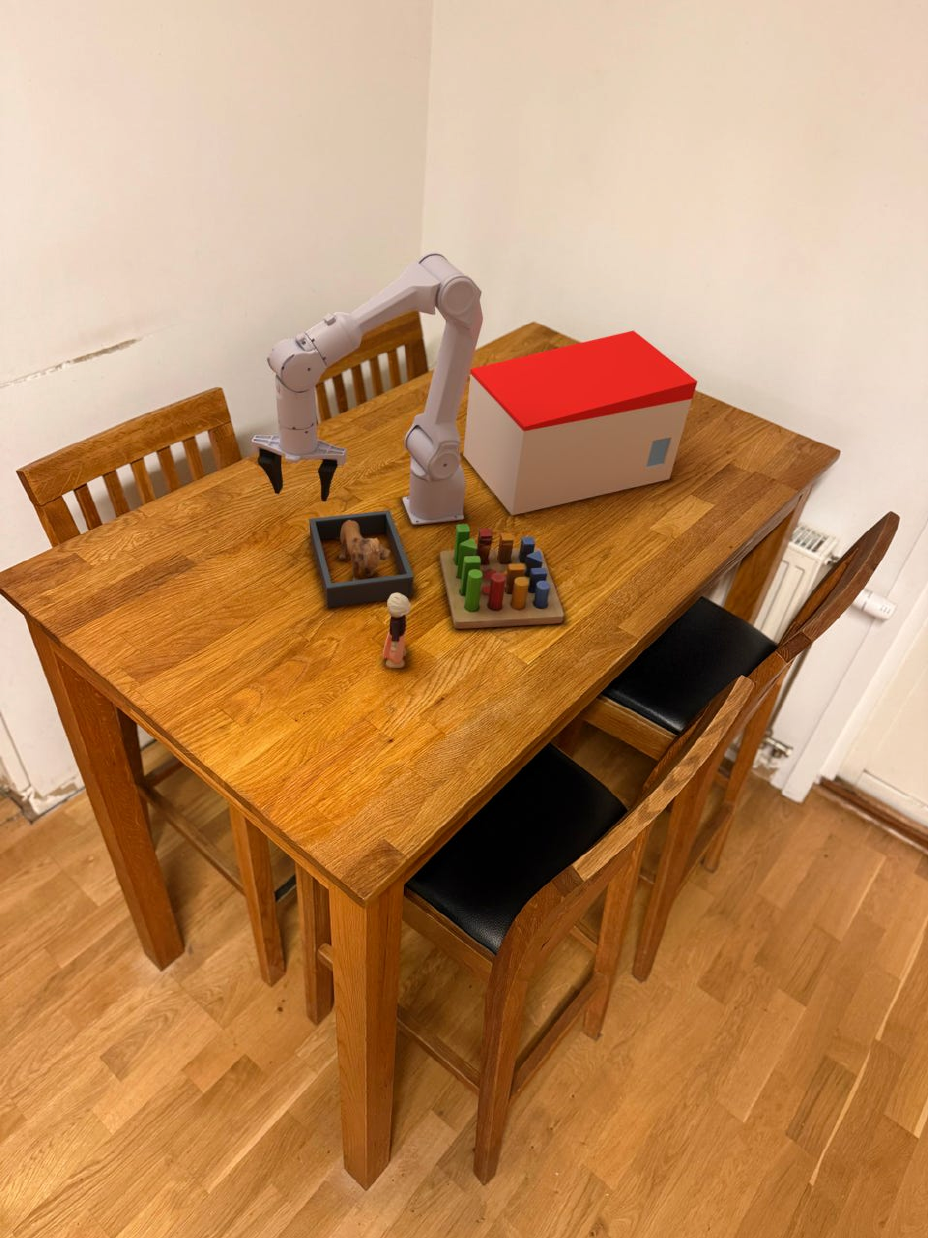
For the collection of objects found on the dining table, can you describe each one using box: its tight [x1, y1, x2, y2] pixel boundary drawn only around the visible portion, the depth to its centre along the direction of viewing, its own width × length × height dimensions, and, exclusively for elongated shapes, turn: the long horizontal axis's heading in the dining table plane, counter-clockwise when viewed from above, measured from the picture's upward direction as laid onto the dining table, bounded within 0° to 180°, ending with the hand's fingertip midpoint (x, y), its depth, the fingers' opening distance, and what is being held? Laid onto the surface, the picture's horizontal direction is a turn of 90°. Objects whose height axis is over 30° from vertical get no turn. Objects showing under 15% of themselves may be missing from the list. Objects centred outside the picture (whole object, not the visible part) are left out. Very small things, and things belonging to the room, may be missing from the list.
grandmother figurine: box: [382, 593, 412, 669], centre depth 127 cm, size 8×4×13 cm, turn 5°
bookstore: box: [462, 330, 698, 516], centre depth 165 cm, size 21×35×21 cm, turn 116°
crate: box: [308, 509, 415, 609], centre depth 144 cm, size 14×18×4 cm
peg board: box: [439, 523, 565, 630], centre depth 141 cm, size 18×17×9 cm
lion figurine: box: [336, 520, 391, 581], centre depth 143 cm, size 15×5×9 cm, turn 34°
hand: (302, 494), depth 142 cm, fingers open, 7 cm apart
